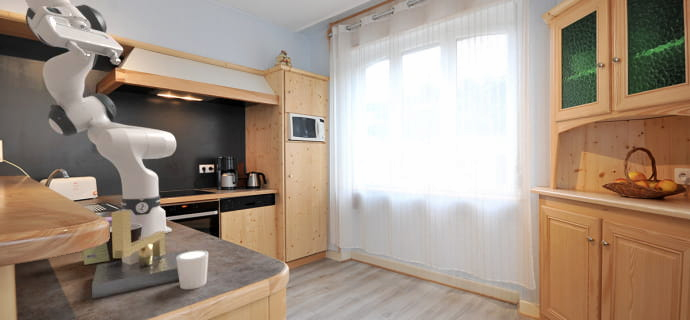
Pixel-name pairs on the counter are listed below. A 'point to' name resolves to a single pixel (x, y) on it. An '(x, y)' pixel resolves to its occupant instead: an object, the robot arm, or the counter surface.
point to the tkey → (143, 246)
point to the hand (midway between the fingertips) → (102, 60)
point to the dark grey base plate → (134, 275)
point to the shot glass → (192, 269)
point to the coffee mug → (135, 236)
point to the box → (97, 251)
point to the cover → (131, 258)
